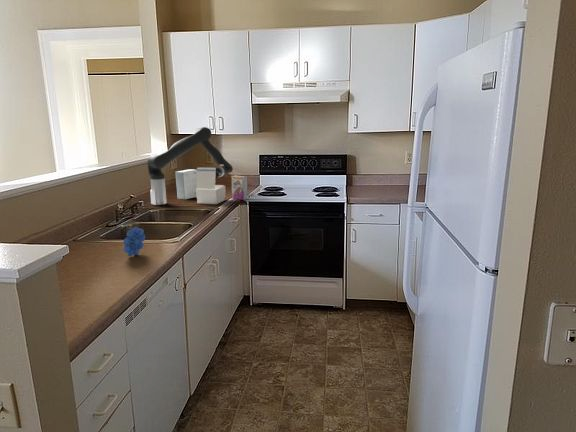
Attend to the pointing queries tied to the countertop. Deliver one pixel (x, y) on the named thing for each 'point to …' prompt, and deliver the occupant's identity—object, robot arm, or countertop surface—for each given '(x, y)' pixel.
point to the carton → (210, 195)
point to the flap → (206, 178)
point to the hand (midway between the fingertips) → (208, 175)
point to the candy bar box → (239, 187)
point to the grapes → (134, 241)
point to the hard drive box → (186, 183)
